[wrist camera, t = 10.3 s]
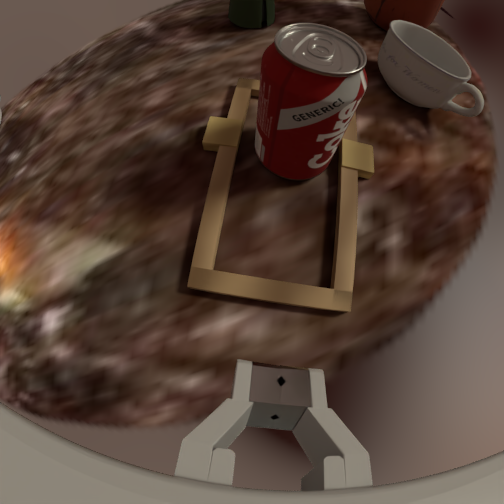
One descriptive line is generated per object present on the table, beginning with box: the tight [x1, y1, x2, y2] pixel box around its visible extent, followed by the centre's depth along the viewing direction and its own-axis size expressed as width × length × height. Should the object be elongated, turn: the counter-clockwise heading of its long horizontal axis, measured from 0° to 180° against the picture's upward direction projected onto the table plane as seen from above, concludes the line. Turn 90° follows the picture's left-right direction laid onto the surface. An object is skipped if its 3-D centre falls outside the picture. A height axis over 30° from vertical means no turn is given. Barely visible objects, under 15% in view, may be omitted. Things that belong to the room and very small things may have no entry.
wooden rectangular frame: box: [187, 78, 374, 313], centre depth 24 cm, size 15×21×1 cm
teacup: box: [378, 20, 484, 117], centre depth 25 cm, size 14×11×8 cm
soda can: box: [255, 23, 368, 180], centre depth 19 cm, size 7×7×12 cm
